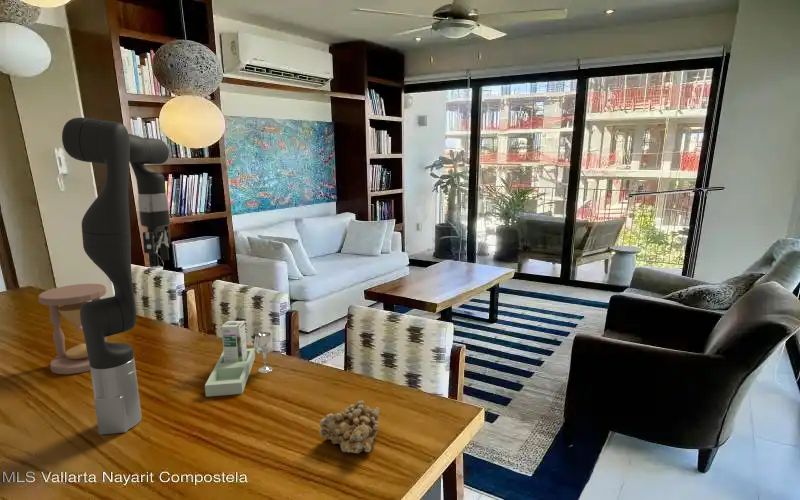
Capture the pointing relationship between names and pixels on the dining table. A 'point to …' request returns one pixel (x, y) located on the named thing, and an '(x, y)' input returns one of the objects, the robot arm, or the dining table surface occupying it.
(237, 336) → the syrup box
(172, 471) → the dining table surface
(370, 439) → the mineral formation
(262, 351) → the wineglass
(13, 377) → the dining table surface
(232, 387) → the tray
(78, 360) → the hourglass
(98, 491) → the dining table surface
